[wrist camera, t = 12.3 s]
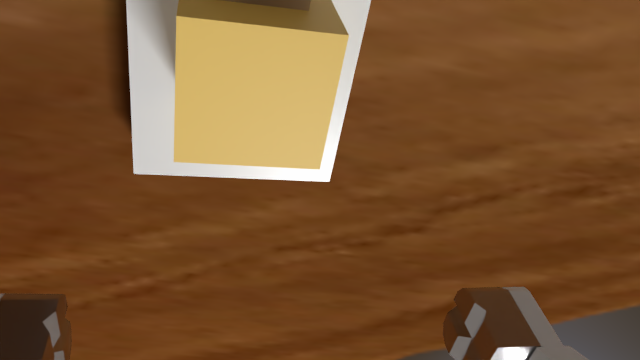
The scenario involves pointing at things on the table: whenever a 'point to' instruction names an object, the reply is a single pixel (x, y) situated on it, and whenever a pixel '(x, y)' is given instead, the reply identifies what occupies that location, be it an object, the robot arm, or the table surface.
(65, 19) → the table surface
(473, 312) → the robot arm
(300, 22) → the block
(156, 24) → the tunnel deck
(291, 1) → the stick
